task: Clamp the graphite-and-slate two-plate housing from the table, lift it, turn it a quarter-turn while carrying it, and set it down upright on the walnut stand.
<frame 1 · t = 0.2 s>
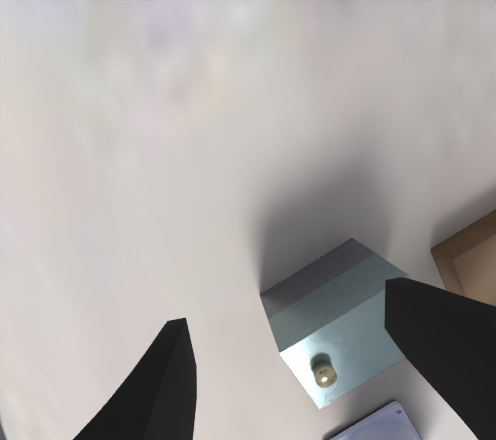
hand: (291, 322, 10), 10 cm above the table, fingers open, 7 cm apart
housing: (319, 290, 21), on the table
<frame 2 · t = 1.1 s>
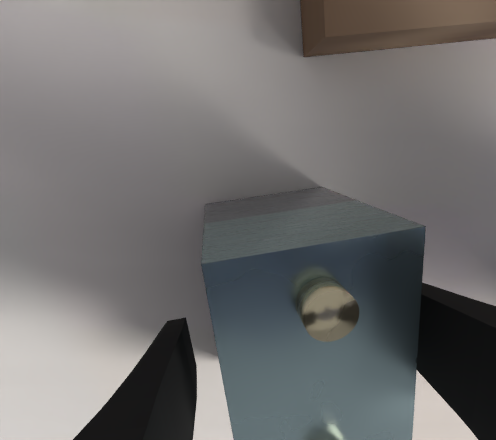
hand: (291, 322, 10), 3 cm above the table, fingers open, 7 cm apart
housing: (273, 279, 13), on the table
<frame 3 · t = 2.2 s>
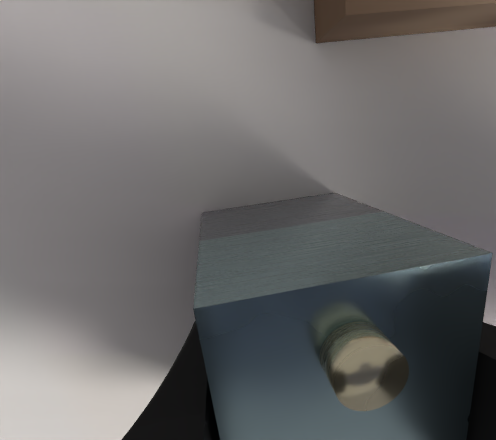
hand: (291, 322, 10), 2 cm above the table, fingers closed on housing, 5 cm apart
housing: (279, 297, 11), on the table, touching gripper
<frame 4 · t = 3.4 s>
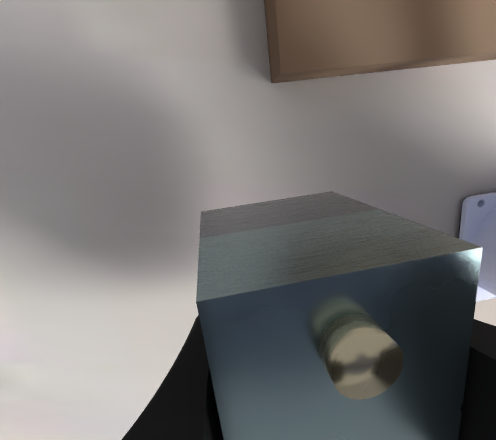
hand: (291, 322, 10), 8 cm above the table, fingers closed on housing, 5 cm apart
housing: (277, 295, 11), point 6 cm above the table, touching gripper
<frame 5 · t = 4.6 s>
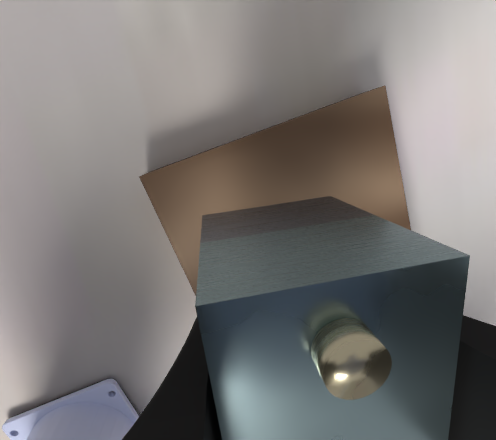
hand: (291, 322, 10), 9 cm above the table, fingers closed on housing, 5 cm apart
housing: (277, 296, 12), point 7 cm above the table, touching gripper
stand: (295, 247, 19), on the table
when the fingers open (5 cm above the table, at t = 6.3 s): housing stays where it is, resting on stand.
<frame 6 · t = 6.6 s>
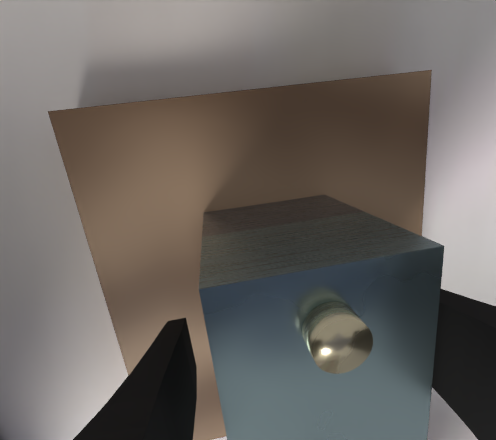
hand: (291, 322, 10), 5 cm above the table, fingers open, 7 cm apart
housing: (274, 290, 12), point 2 cm above the table, touching stand
stand: (265, 266, 14), on the table
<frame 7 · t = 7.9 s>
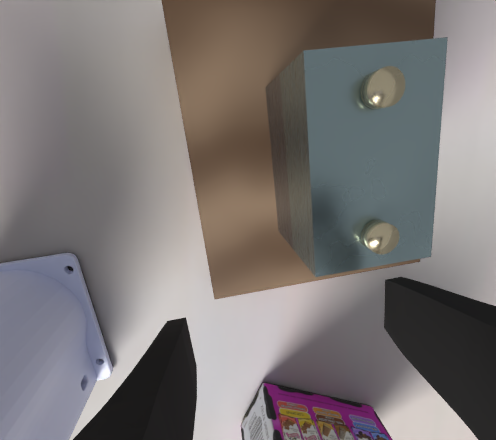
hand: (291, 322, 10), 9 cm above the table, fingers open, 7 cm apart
housing: (314, 159, 16), point 2 cm above the table, touching stand
stand: (303, 153, 18), on the table
candy bar box: (307, 413, 24), on the table
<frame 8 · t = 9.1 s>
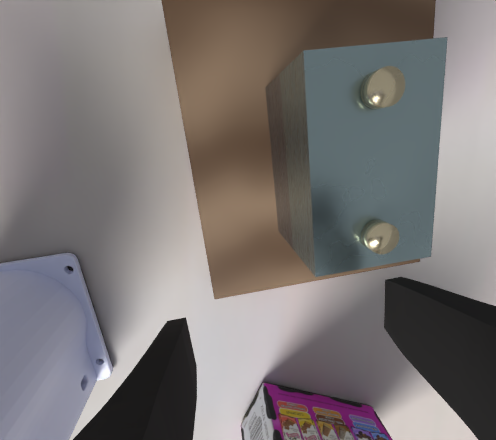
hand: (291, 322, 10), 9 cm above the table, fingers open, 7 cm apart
housing: (314, 159, 16), point 2 cm above the table, touching stand
stand: (303, 153, 18), on the table
candy bar box: (307, 413, 24), on the table
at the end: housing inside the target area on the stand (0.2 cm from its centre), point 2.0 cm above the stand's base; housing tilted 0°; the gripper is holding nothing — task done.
